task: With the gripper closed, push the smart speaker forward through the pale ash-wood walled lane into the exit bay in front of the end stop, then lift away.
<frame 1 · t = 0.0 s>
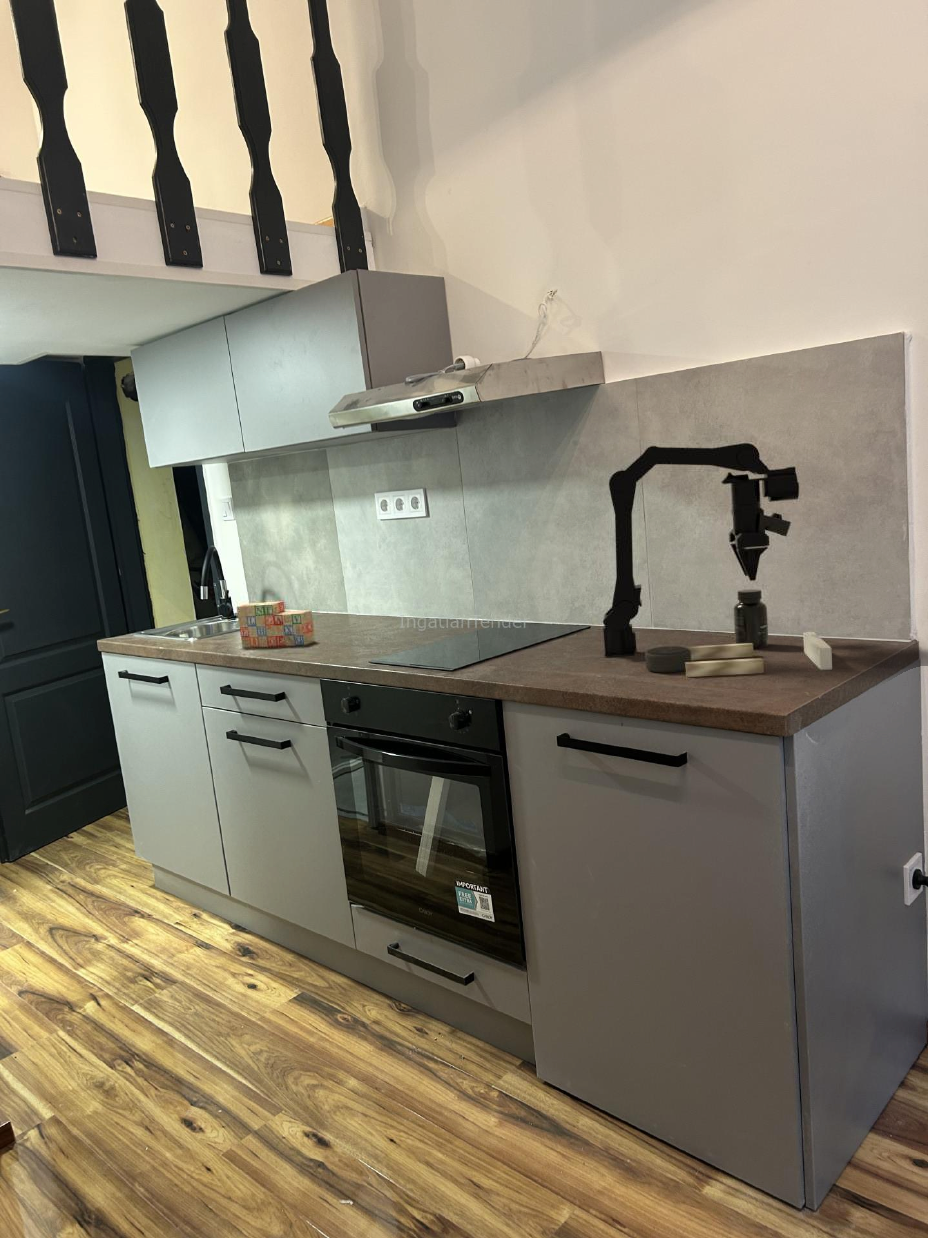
hand: (750, 578, 192), 15 cm above the worktop, tool pointing down, fingers open, 9 cm apart
tunnel walls: (720, 665, 178), on the worktop
stack of blocks: (278, 645, 262), on the worktop
supplement bottle: (752, 647, 194), on the worktop
end stop: (817, 660, 174), on the worktop
smart speaker: (668, 670, 180), on the worktop
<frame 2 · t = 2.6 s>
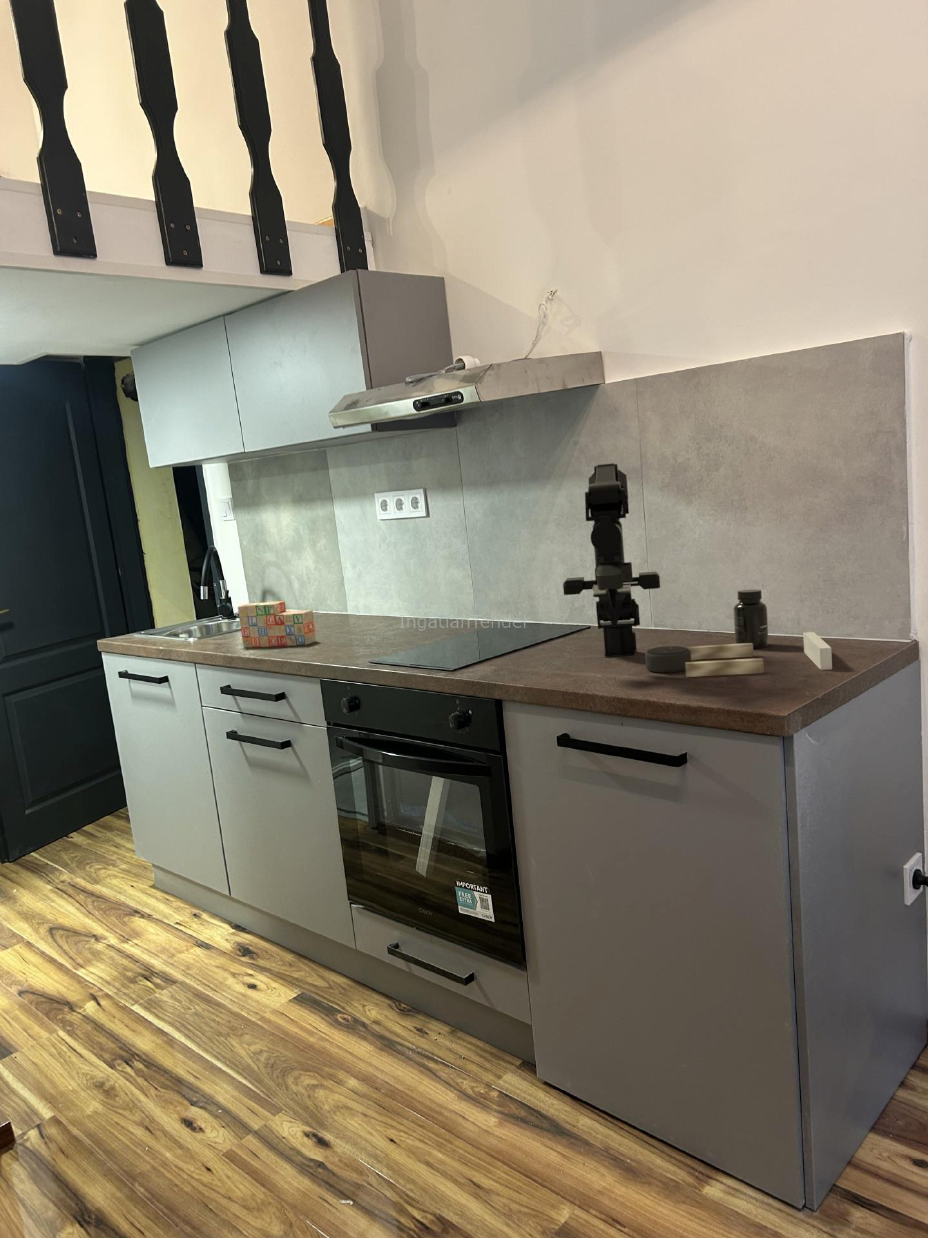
hand: (614, 626, 181), 9 cm above the worktop, tool pointing down, fingers closed
nothing on the worktop moved.
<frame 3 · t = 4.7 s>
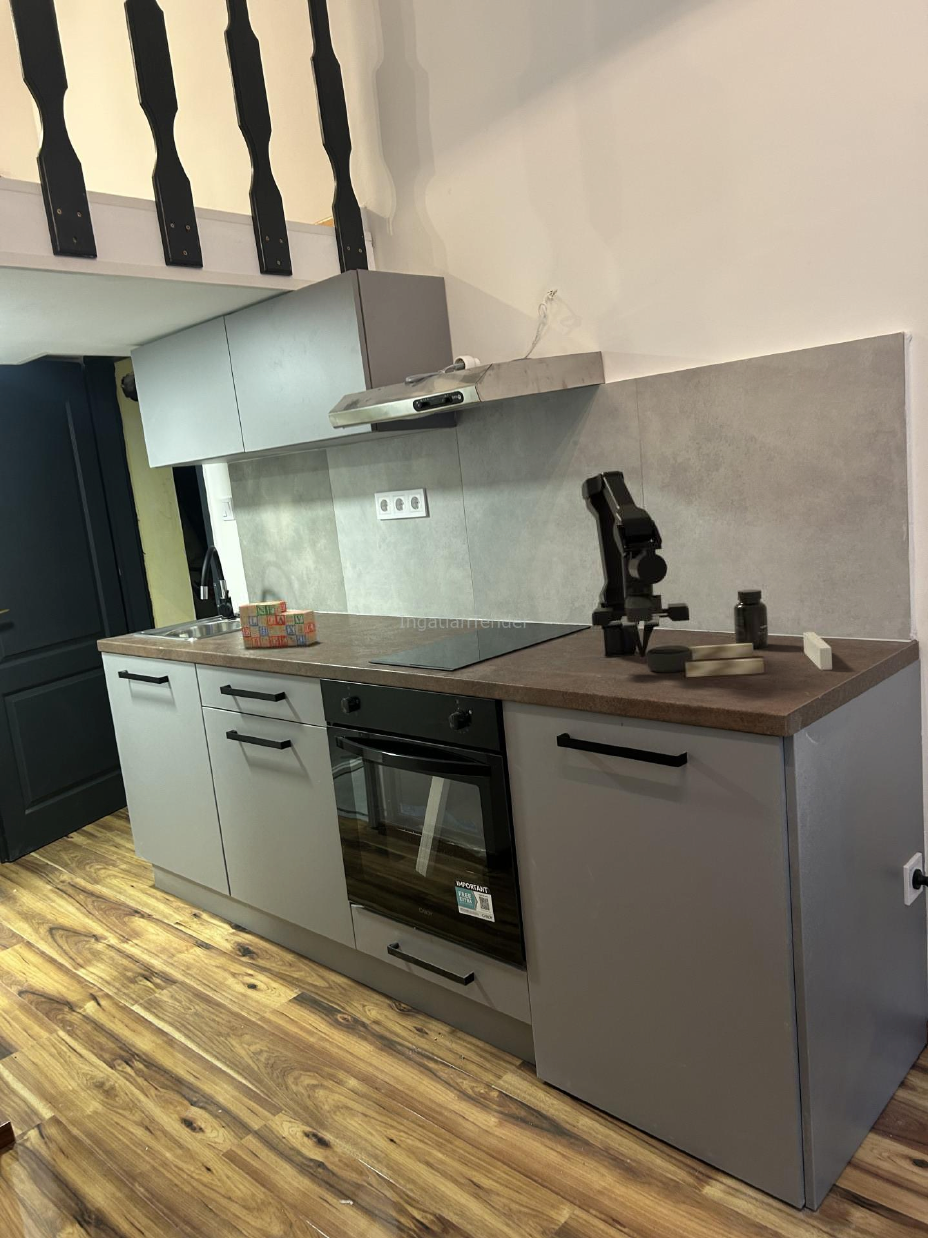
hand: (642, 657, 180), 3 cm above the worktop, tool pointing down, fingers closed
smart speaker: (670, 669, 180), on the worktop, touching gripper
everything else where it was.
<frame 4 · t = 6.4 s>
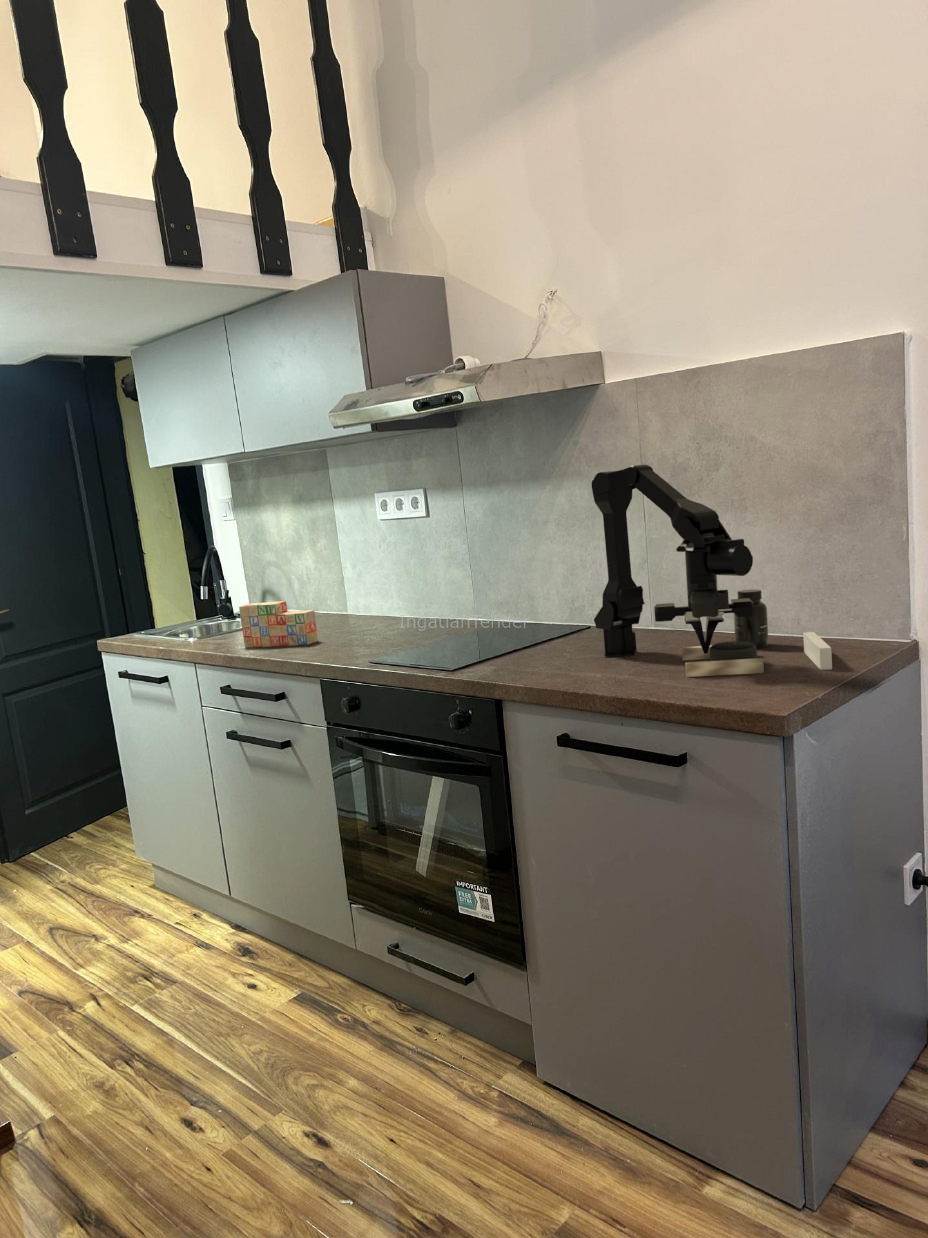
hand: (705, 653, 178), 3 cm above the worktop, tool pointing down, fingers closed
smart speaker: (733, 665, 177), on the worktop, touching gripper
everything else where it was.
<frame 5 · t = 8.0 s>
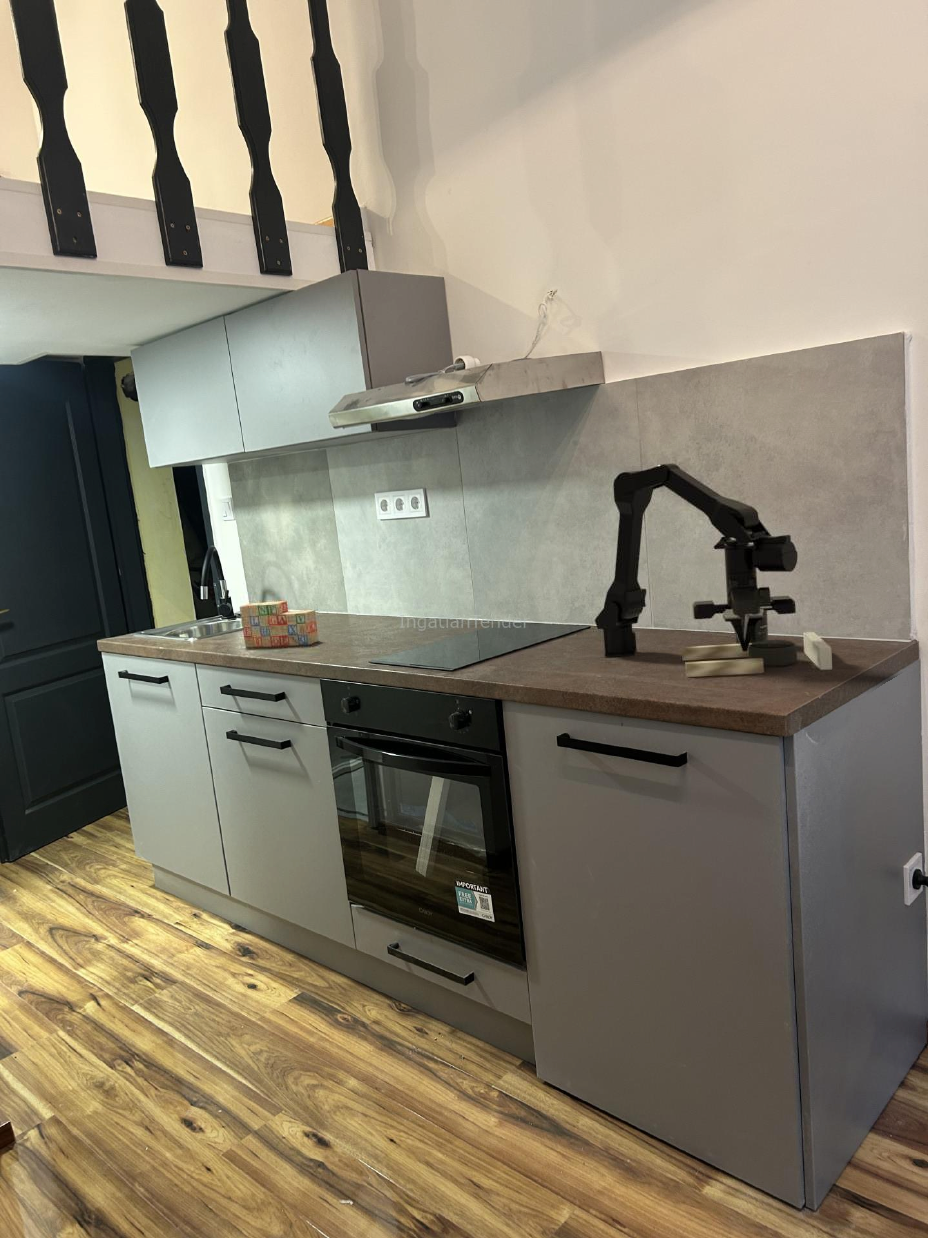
hand: (744, 651, 177), 3 cm above the worktop, tool pointing down, fingers closed
smart speaker: (773, 664, 176), on the worktop, touching gripper
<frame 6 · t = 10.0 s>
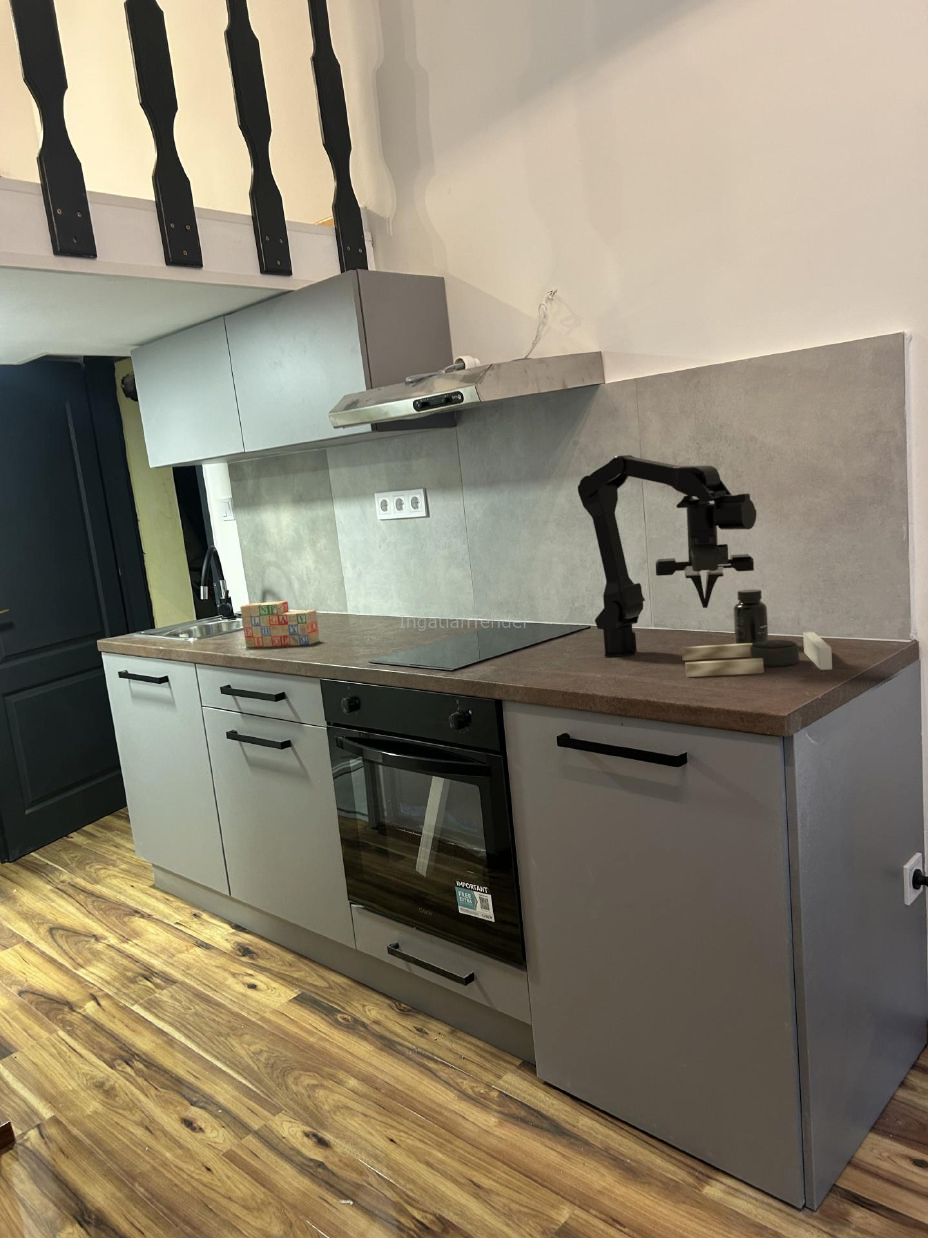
hand: (705, 607, 182), 11 cm above the worktop, tool pointing down, fingers closed
smart speaker: (774, 664, 176), on the worktop
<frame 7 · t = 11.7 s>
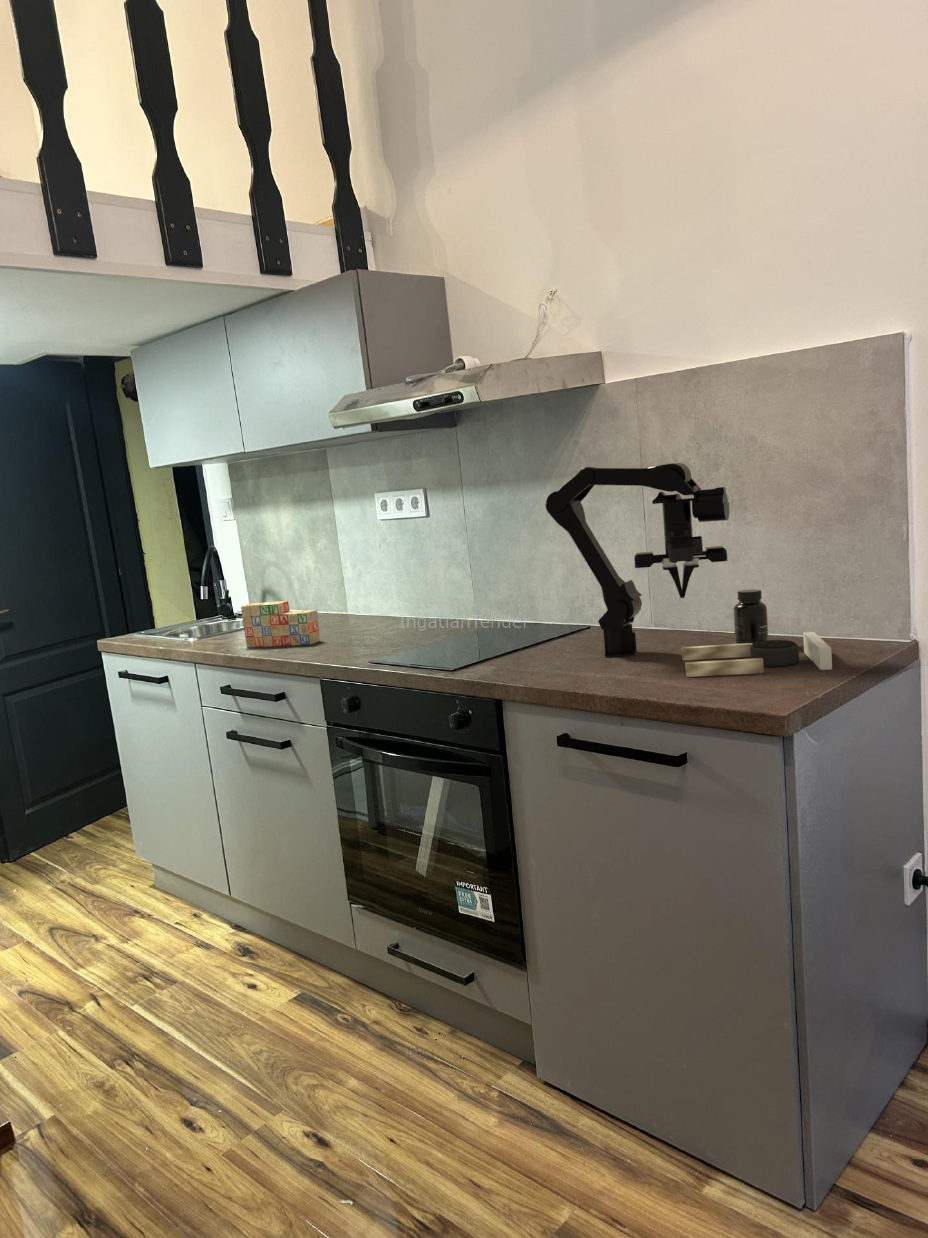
hand: (682, 597, 191), 12 cm above the worktop, tool pointing down, fingers closed
at the end: smart speaker inside the target area (1.7 cm from its centre), on the worktop; smart speaker tilted 0° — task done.
